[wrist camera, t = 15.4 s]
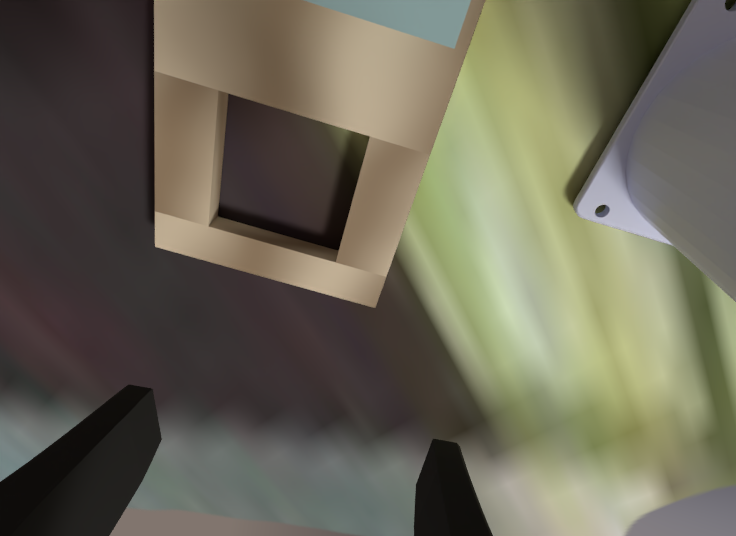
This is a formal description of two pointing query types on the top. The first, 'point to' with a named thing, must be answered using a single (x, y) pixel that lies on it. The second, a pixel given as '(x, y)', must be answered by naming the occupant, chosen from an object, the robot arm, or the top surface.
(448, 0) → the cover
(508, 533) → the top surface
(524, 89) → the top surface
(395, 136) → the board
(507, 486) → the top surface
